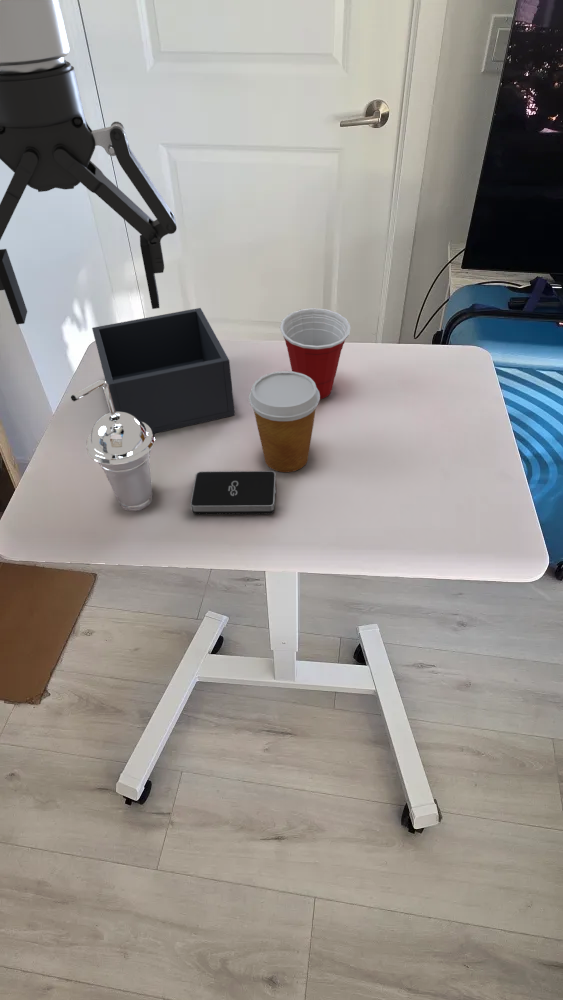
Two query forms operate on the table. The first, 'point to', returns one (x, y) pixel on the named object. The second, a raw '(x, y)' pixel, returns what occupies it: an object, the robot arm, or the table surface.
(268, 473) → the external hard drive
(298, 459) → the disposable coffee cup
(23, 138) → the robot arm
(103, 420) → the cup with straw
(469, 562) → the table surface
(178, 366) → the bin
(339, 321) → the plastic cup
